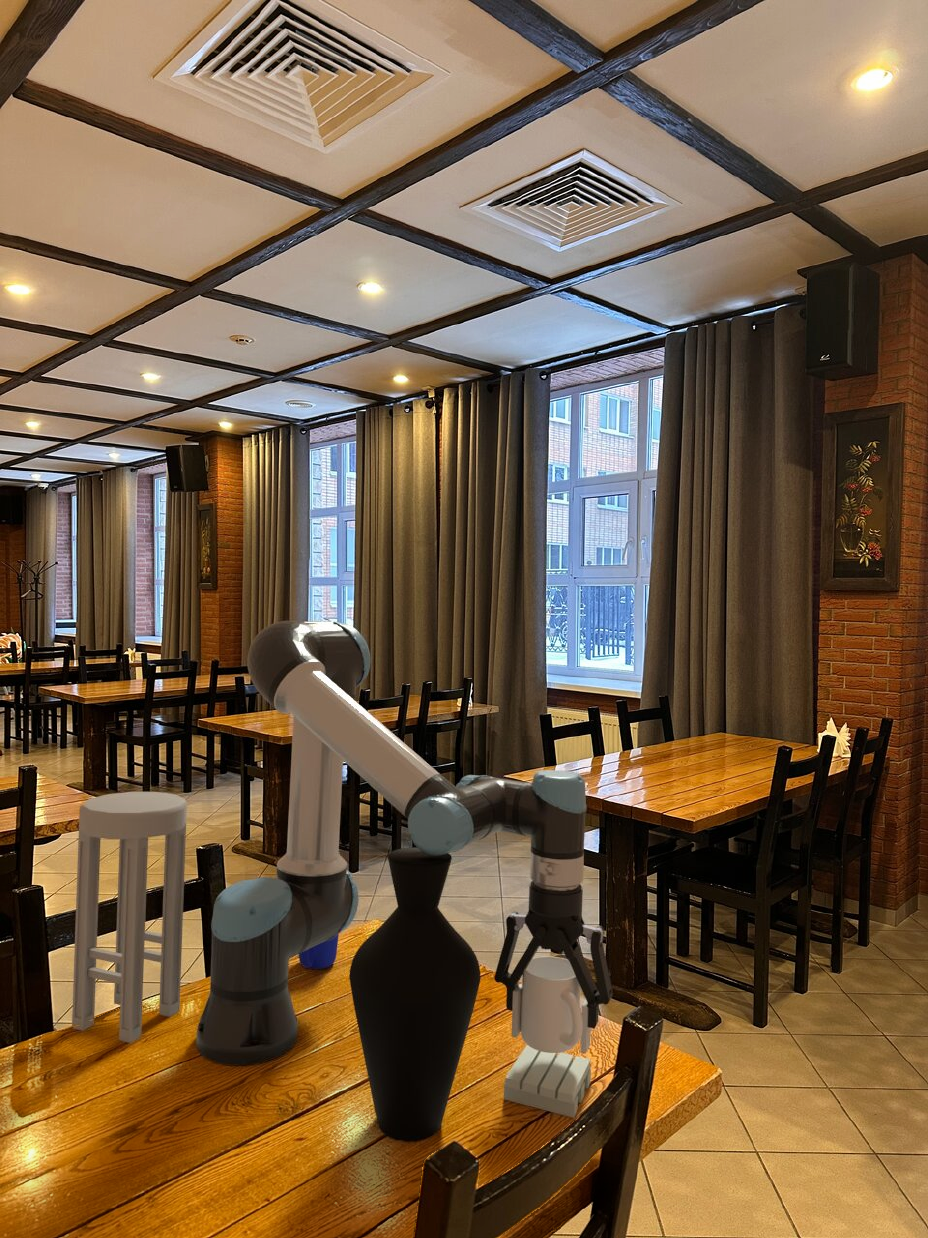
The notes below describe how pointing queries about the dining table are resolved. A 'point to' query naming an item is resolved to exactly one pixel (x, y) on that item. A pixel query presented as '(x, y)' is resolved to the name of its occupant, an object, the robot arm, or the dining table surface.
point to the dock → (548, 1081)
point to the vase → (414, 1000)
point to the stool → (129, 904)
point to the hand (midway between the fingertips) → (550, 1040)
